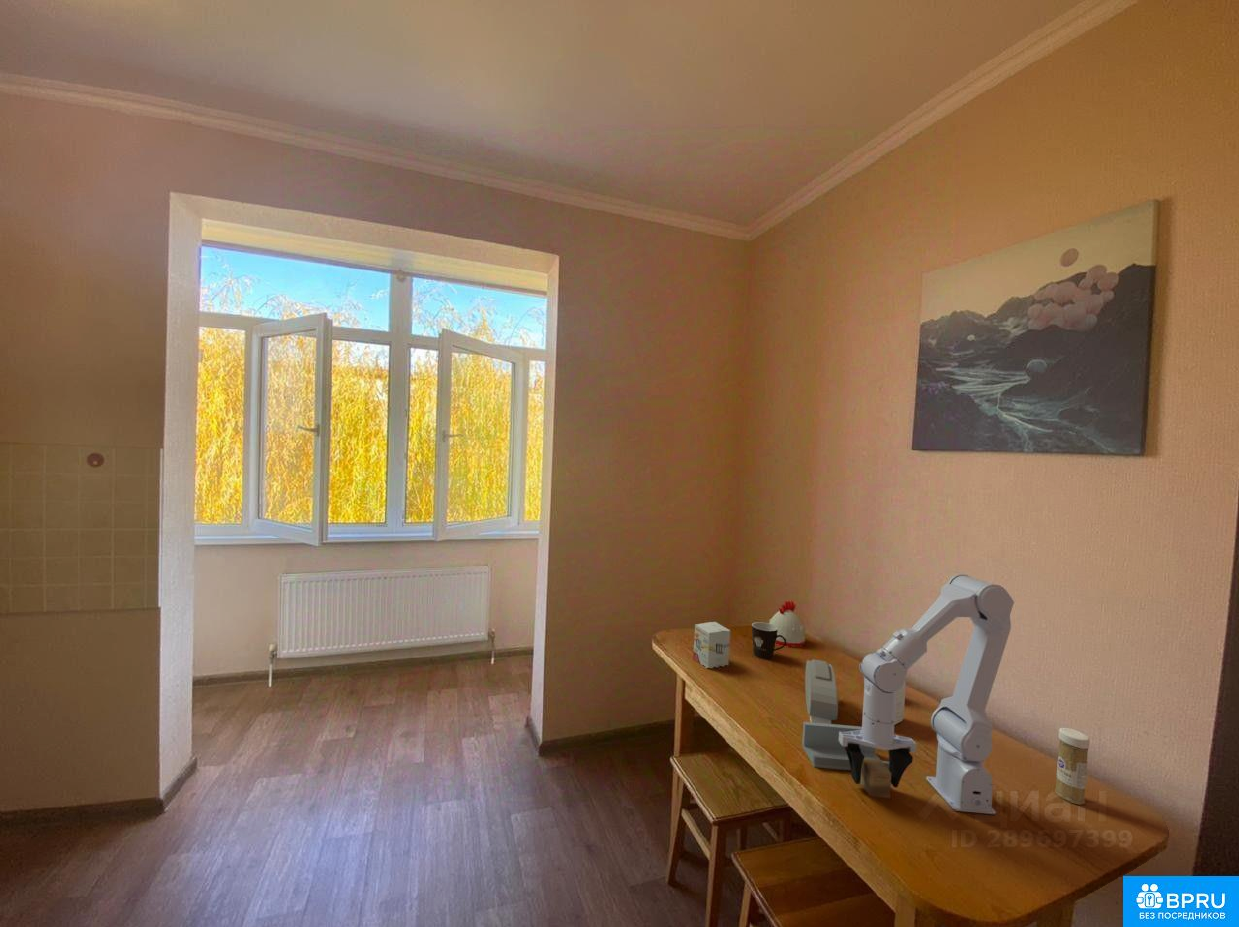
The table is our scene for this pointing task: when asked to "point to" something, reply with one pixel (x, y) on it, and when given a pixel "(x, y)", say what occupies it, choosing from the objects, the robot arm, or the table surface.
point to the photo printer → (900, 704)
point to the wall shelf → (830, 746)
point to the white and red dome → (788, 626)
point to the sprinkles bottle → (1072, 765)
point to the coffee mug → (765, 639)
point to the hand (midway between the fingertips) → (874, 782)
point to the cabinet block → (875, 778)
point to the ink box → (711, 644)
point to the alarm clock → (821, 692)
